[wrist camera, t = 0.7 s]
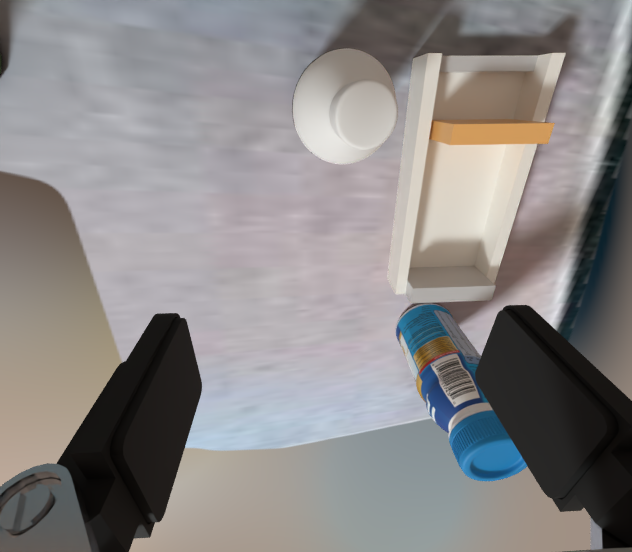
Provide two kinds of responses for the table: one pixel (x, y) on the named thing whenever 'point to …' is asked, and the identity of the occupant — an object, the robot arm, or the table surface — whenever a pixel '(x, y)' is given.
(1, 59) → the character mug
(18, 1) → the table surface
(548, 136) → the orange rectangular block
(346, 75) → the bath foam
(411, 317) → the beverage bottle
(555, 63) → the pusher lane
